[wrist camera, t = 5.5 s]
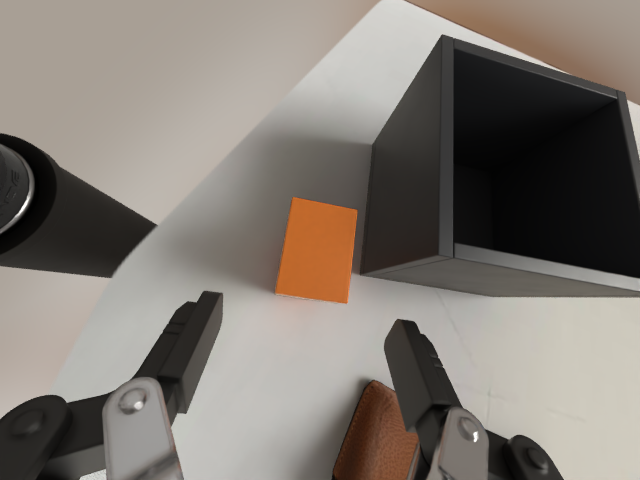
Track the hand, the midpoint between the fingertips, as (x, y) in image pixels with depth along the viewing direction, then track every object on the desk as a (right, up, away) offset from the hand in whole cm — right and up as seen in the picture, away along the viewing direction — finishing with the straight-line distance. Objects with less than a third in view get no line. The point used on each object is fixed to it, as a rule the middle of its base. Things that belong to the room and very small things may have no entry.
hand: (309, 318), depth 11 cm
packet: (-1, +1, +10) cm, 10 cm away
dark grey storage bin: (+12, +6, +13) cm, 18 cm away
